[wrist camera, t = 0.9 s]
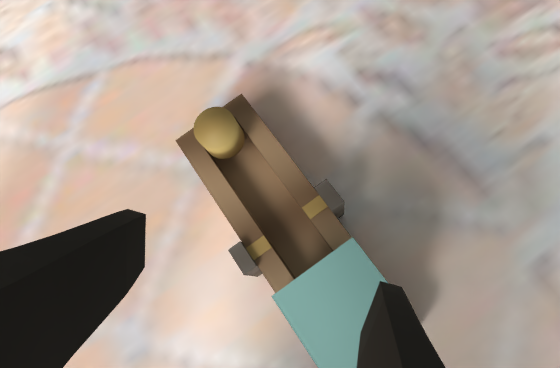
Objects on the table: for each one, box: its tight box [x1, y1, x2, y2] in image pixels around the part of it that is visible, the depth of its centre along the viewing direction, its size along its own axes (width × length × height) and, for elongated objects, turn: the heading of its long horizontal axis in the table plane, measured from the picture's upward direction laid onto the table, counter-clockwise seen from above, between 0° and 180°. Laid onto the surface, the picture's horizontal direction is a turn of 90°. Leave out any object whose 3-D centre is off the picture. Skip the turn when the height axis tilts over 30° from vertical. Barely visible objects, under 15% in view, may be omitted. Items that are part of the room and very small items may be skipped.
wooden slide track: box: [176, 94, 352, 293], centre depth 21 cm, size 17×7×5 cm, turn 35°
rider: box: [272, 237, 388, 368], centre depth 18 cm, size 4×4×5 cm
